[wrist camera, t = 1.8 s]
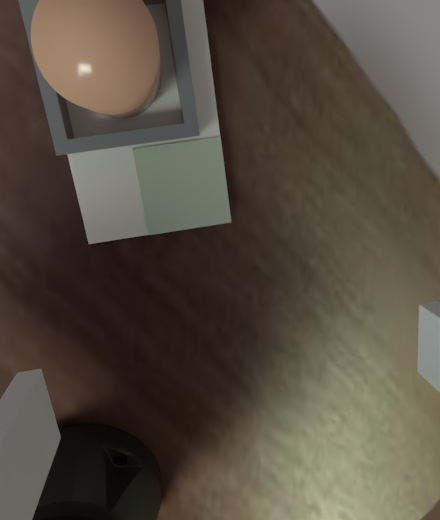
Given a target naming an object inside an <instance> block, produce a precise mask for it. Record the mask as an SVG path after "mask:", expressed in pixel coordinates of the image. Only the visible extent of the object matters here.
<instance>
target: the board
mask: <svg viewBox="0 0 440 520" xmlns="http://www.w3.org/2000/svg"><path fill="white" fill-rule="evenodd" d="M181 5H182V12H183V19H184V27H185V34H186V41H187V48H188V55H189V62H190V69H191V76H192V83H193V90H194V98H195V105H196V112H197V119H198V126H199V133H200V136H194V137H187V138H180V139H173V140H165V141H158V142H151V143H144V144H137V145H130V146H122V147H115V148H108V149H101V150H94V151H86V152H79V153H72V154H67V155H68V159H69V163H70V167H71V172H72V176H73V180H74V184H75V189H76V193H77V197H78V201H79V206H80V210H81V214H82V218H83V222H84V227H85V231H86V235H87V239H88V244H93V243H100V242H106V241H112V240H119V239H125V238H132V237H138V236H144V235H154V234H161V233H167V232H173V231H180V230H186V229H192V228H199V227H205V226H212V225H218V224H224V223H231V215H230V207H229V199H228V191H227V183H226V175H225V167H224V159H223V151H222V143H221V137H220V130H219V122H218V114H217V106H216V98H215V90H214V83H213V75H212V67H211V59H210V51H209V43H208V35H207V27H206V19H205V11H204V4H203V0H181ZM146 7H147V8H148V10H149V12H150V14H151V16H152V18H153V20H154V23H155V26H156V30H157V34H158V41H159V51H160V62H161V73H162V80H161V86H160V90H159V93H158V95H157V97H156V99H155V101H154V102H153V103H152V105H151V106H150V107H149V108H148V109H147V110H145V111H144V112H143V113H141V114H139V115H137V116H134V117H130V118H123V119H120V118H112V117H109V116H106V115H103V114H100V113H97V112H95V111H92V110H89V109H86V108H84V107H81V106H78V105H76V104H74V103H72V102H70V101H68V100H67V99H66V103H67V108H68V112H69V116H70V121H71V125H72V130H73V134H74V138H80V137H88V136H95V135H102V134H110V133H117V132H124V131H132V130H139V129H146V128H154V127H161V126H168V125H176V124H183V121H182V114H181V108H180V101H179V94H178V88H177V81H176V75H175V68H174V61H173V55H172V48H171V42H170V35H169V28H168V22H167V15H166V8H165V3H162V4H153V5H146Z"/></svg>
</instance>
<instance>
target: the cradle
mask: <svg viewBox="0 0 440 520" xmlns="http://www.w3.org/2000/svg"><path fill="white" fill-rule="evenodd" d="M18 1H19V5H20V9H21V13H22V17H23V21H24V25H25V29H26V34H27V38H28V42H29V46H30V50H31V54H32V58H33V62H34V66H35V70H36V74H37V79H38V83H39V87H40V91H41V95H42V99H43V103H44V107H45V111H46V115H47V119H48V123H49V128H50V132H51V136H52V140H53V144H54V148H55V152H56V156H58V155H65V154H72V153H79V152H86V151H94V150H101V149H108V148H115V147H122V146H130V145H137V144H144V143H151V142H158V141H165V140H173V139H180V138H187V137H194V136H200V133H199V126H198V119H197V112H196V105H195V98H194V90H193V83H192V76H191V69H190V62H189V55H188V48H187V41H186V34H185V27H184V19H183V12H182V5H181V0H142V1H143V2H144V4H145V5H153V4H162V3H165V8H166V15H167V22H168V28H169V35H170V42H171V48H172V55H173V61H174V68H175V75H176V81H177V88H178V94H179V101H180V108H181V114H182V121H183V124H176V125H168V126H161V127H154V128H146V129H139V130H132V131H124V132H117V133H110V134H102V135H95V136H88V137H80V138H74V134H73V130H72V125H71V121H70V116H69V112H68V108H67V103H66V99H65V98H64V97H62V96H61V95H60V94H59V93H57V92H56V91H55V90H54V89H53V88H52V87H51V86H50V85H49V83H48V82H47V81H46V79H45V78H44V76H43V75H42V73H41V71H40V70H39V68H38V65H37V63H36V61H35V57H34V54H33V50H32V45H31V23H32V18H33V14H34V11H35V8H36V6H37V4H38V2H39V0H18Z"/></svg>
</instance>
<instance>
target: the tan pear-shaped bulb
mask: <svg viewBox="0 0 440 520" xmlns="http://www.w3.org/2000/svg"><path fill="white" fill-rule="evenodd" d="M31 45H32V50H33V54H34V57H35V61H36V63H37V65H38V68H39V70H40V71H41V73H42V75H43V76H44V78H45V79H46V81H47V82H48V83H49V85H50V86H51V87H52V88H53V89H54V90H55V91H56V92H57V93H59V94H60V95H61V96H62V97H64V98H65V99H67V100H68V101H70V102H72V103H74V104H76V105H78V106H81V107H84V108H86V109H89V110H92V111H95V112H97V113H100V114H103V115H106V116H109V117H112V118H120V119H123V118H130V117H134V116H137V115H139V114H141V113H143V112H144V111H145V110H147V109H148V108H149V107H150V106H151V105H152V103H153V102H154V101H155V99H156V97H157V95H158V93H159V90H160V86H161V80H162V73H161V62H160V51H159V41H158V34H157V30H156V26H155V23H154V20H153V18H152V16H151V14H150V12H149V10H148V8H147V7H146V5H145V4H144V2H143V1H142V0H39V2H38V4H37V6H36V8H35V11H34V14H33V18H32V23H31Z"/></svg>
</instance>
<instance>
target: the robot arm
mask: <svg viewBox="0 0 440 520" xmlns="http://www.w3.org/2000/svg"><path fill="white" fill-rule="evenodd" d="M418 373H419V374H420V375H421V376H423V377H424V378H425V379H426V380H427V381H428V382H429V383H430V384H431V385H432V386H433V387H434V388H435V389H437V390H438V391H439V392H440V301H436V302H430V303H425V304H419V331H418ZM160 503H161V474H160V470H159V467H158V464H157V462H156V460H155V458H154V456H153V455H152V453H151V452H150V451H149V450H148V448H147V447H146V446H145V445H144V444H142V443H141V442H140V441H139V440H137V439H136V438H134V437H133V436H131V435H129V434H127V433H125V432H123V431H121V430H118V429H115V428H112V427H108V426H102V425H94V424H79V425H71V426H66V427H61V428H58V425H57V422H56V418H55V415H54V411H53V408H52V405H51V401H50V398H49V394H48V391H47V387H46V384H45V380H44V377H43V373H42V370H41V369H37V370H31V371H25V372H19V373H17V374H16V376H15V377H14V379H13V380H12V382H11V383H10V385H9V387H8V388H7V390H6V391H5V393H4V394H3V396H2V398H1V399H0V520H156V519H157V517H158V513H159V509H160Z"/></svg>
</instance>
